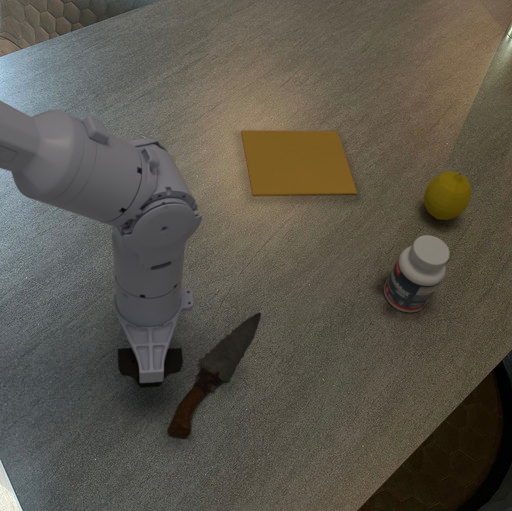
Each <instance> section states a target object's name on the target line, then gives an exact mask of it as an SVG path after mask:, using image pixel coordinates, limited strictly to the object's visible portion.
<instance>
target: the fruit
mask: <svg viewBox="0 0 512 511" xmlns="http://www.w3.org/2000/svg"><path fill="white" fill-rule="evenodd" d="M424 190H425V191H424V193H423V194H424V195H423V202H424V207H425V209H426V210H427V213H429V214H430V215H431V216H432V217H433V218H435V219H436V220H439V221H441V220H443V221H449V220H451V219H455V218H457V217H459V216H460V215H462V213H464V212H465V211H466V210H467V208H468V207H469V204H470V201H471V197H472V186H471V183H470V181H469V179H468V178H467V177H466V176H465V175H463V174H462V173H460V172H457V171H454V170H447V171H442V172H441V173H439V174H438V175H437V176H435V177H433V178H432V179H431V180H430V181H429V182H428V184H427V186H426V188H425V189H424Z"/></svg>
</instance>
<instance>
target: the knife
mask: <svg viewBox="0 0 512 511" xmlns="http://www.w3.org/2000/svg"><path fill="white" fill-rule="evenodd" d="M261 317H262V312H257V313H255V314H253V315H251V316H249V318H247V319H245V320H243V321H242V322H241V323H240V324H239V325H238V326H237V327H235V328H234V329H232V330H231V332H230V333H229V334H226V335H225V337H224V338H222V339H221V340H220V341H219V342H218V343H216V345H215V346H214V347H213V348H212V349H211V350H210V351H209V352H207V353H205V354H204V357H201V358H199V359H198V362H199V364H201V365H202V366H201V368H200V371H199V372H198V373H197V374H195V376H194V377H195V379H197V381H195V383H194V384H193V386H192V387H191V388H190V390H189V391H188V392H187V393H186V395H184V397H183V398H182V400H180V402H179V404H178V405H177V408H176V410H175V413H174V414H173V417H172V419H171V421H170V423H169V425H168V427H167V433H168V435H169V436H171V437H174V438H177V439H187V438H188V437H189V436H190V435H191V432H192V423H191V422H192V418H193V414H194V411H195V410H196V407H197V406H198V404H199V403H200V402H201V399H203V397H205V396H207V394H208V393H209V391H210V392H212V393H215V391H216V388H218V387H219V386H220V385H221V384H223V383H224V382H225V383H229V382H230V380H231V377H232V376H233V373H234V372H236V368H237V365H238V364H239V363H240V361H241V359H242V358H244V357H245V356H244V354H245V352H246V350H247V348H248V347H249V345H251V343H252V341H253V339H254V337H255V334H256V331H257V329H258V327H259V322H260V319H261Z"/></svg>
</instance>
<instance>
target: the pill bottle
mask: <svg viewBox="0 0 512 511" xmlns="http://www.w3.org/2000/svg"><path fill="white" fill-rule="evenodd" d="M450 253H451V252H450V248H449V247H448V245H447V243H445V241H443V240H442V239H441V238H439V237H436V236H434V235H431V234H429V235H428V234H425V235H421V236H419V237H417V238H416V239H415V240H414V242H413V243H412V245H410V246H408V247H406V248H404V249H403V250H402V251H401V253H400V255H399V256H398V258H397V259H396V261H395V264H394V265H393V267H392V269H391V271H390V273H389V275H388V277H387V279H386V280H385V282H384V285H383V293H384V297H385V299H386V301H387V302H388V303H389V305H391V306H392V307H393V308H394V309H396V310H398V311H400V312H403V313H416V312H419V311H421V310H423V309H424V308H425V307H426V305H427V304H428V302H429V301H430V299H431V298H432V296H433V295H434V293H435V292H436V290H437V289H438V287H439V285H440V284H441V282H442V281H443V280H444V277H445V275H446V264H447V262H448V261H449V259H450V256H451V255H450Z"/></svg>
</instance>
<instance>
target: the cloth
mask: <svg viewBox="0 0 512 511" xmlns="http://www.w3.org/2000/svg"><path fill="white" fill-rule="evenodd" d="M240 134H241V138H242V143H243V144H242V145H243V150H244V156H245V160H246V165H247V166H246V167H247V172H248V177H249V182H250V188H251V193H252V196H253V197H254V196H255V197H258V196H259V197H261V196H263V197H265V196H268V197H269V196H332V195H333V196H342V195H343V196H345V195H346V196H349V195H350V196H352V195H353V196H354V195H358V191H357V187H356V184H355V181H354V178H353V175H352V171H351V169H350V164H349V162H348V158H347V156H346V152H345V150H344V147H343V143H342V140H341V136H340V133H339V131H338V130H336V131H335V130H241V132H240Z"/></svg>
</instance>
